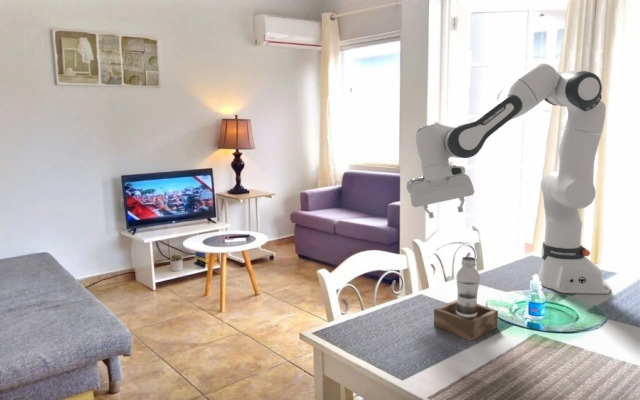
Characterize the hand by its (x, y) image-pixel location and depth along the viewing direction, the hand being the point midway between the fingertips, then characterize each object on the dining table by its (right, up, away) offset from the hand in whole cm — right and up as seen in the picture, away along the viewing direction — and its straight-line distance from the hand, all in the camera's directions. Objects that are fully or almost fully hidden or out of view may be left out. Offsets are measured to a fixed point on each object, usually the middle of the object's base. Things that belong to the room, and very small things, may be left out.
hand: (446, 214), depth 162 cm
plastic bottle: (0, -31, -20) cm, 37 cm away
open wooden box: (0, -31, -21) cm, 37 cm away
